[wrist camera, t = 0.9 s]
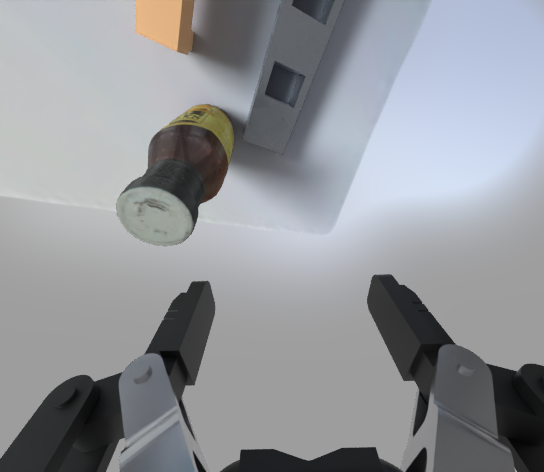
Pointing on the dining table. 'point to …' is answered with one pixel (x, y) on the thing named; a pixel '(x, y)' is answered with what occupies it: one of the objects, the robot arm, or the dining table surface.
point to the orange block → (166, 22)
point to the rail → (296, 58)
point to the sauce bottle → (178, 176)
